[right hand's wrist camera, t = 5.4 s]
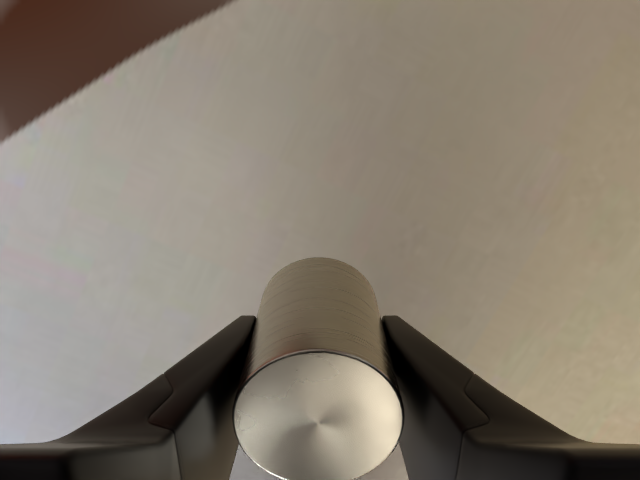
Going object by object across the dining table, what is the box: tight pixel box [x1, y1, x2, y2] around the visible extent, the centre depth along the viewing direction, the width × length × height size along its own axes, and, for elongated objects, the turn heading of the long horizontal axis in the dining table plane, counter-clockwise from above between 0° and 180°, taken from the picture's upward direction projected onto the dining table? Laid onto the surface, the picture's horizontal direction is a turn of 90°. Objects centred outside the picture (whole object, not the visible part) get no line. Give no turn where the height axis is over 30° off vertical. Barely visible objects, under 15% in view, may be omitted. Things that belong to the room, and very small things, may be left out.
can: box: [232, 257, 405, 480], centre depth 10 cm, size 4×4×4 cm
